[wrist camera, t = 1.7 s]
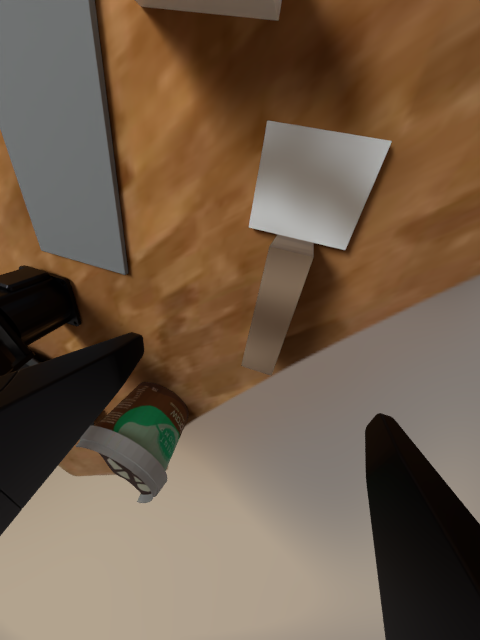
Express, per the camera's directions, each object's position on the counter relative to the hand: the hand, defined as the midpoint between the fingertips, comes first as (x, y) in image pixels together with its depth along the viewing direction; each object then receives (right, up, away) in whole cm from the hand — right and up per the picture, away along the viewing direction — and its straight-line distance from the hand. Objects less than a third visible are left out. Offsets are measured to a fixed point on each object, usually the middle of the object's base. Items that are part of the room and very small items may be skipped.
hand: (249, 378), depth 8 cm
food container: (-10, -10, +24) cm, 28 cm away
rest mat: (-15, +17, +9) cm, 24 cm away
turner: (+4, +7, +9) cm, 12 cm away
